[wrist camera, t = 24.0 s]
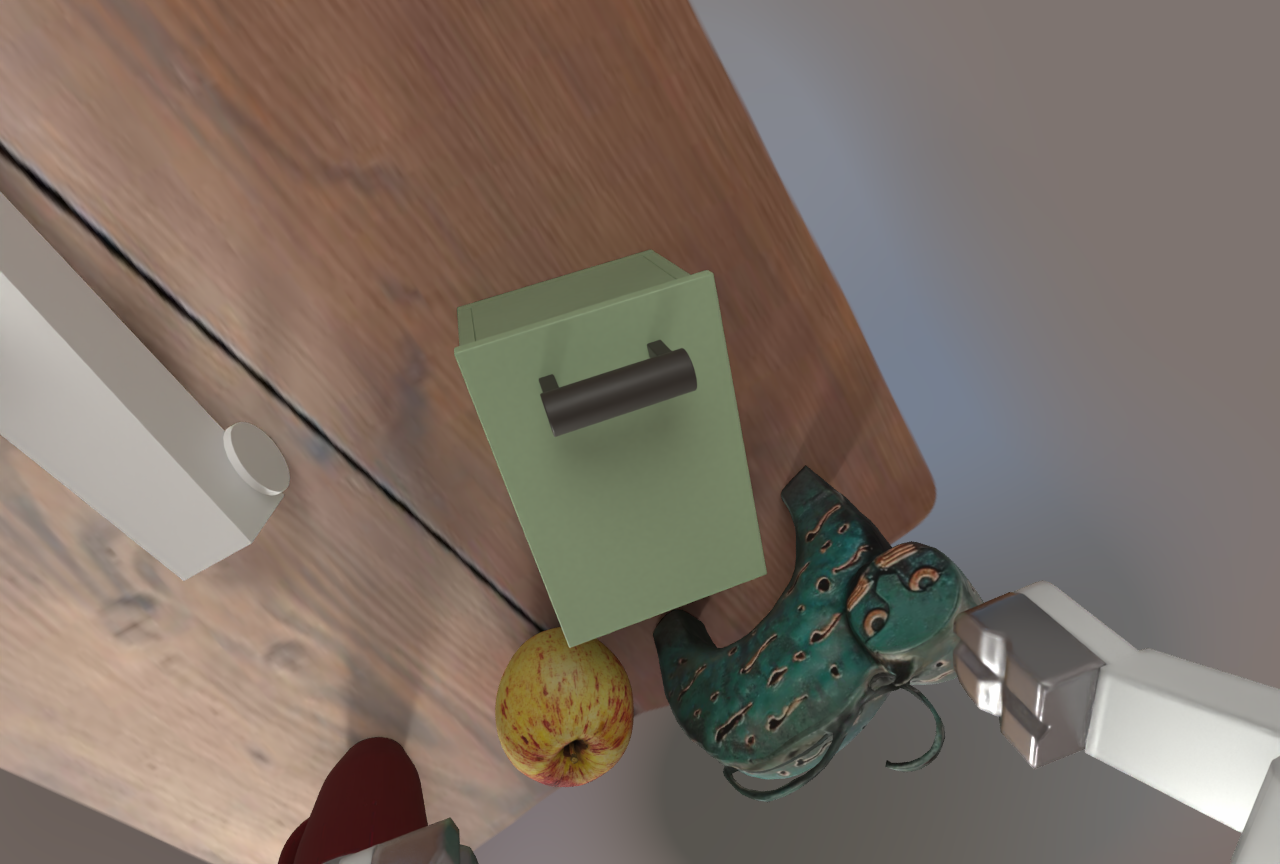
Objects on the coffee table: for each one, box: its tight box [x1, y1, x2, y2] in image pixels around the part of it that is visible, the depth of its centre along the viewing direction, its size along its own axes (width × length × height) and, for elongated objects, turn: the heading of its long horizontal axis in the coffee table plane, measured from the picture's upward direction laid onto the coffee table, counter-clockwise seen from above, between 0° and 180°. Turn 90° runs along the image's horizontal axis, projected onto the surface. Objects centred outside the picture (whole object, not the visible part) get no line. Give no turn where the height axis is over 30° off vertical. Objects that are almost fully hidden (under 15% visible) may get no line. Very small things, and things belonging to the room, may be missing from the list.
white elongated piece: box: [0, 192, 290, 581], centre depth 28 cm, size 25×7×9 cm, turn 26°
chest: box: [457, 250, 690, 346], centre depth 37 cm, size 17×12×10 cm
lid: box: [454, 270, 767, 648], centre depth 31 cm, size 17×12×5 cm, turn 14°
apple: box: [495, 627, 633, 787], centre depth 45 cm, size 9×9×10 cm
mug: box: [278, 737, 428, 864], centre depth 45 cm, size 10×8×10 cm
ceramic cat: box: [653, 466, 984, 802], centre depth 41 cm, size 20×6×20 cm, turn 137°
